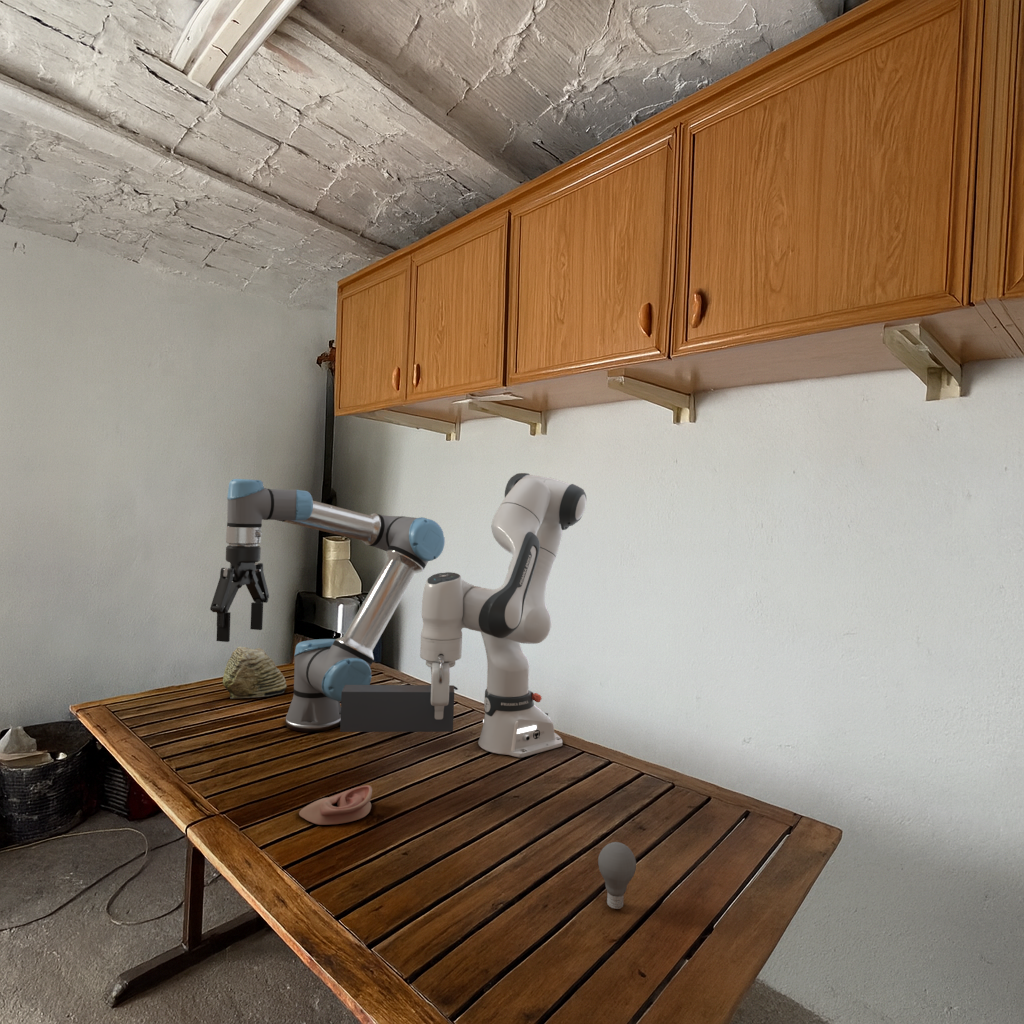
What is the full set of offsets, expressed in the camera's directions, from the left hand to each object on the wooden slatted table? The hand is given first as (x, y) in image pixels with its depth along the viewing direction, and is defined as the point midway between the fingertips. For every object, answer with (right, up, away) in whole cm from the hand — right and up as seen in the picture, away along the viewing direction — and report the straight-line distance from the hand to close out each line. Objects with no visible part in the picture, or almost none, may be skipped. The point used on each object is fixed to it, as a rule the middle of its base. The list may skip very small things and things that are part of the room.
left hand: (240, 635), depth 149 cm
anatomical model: (+28, -32, -21) cm, 47 cm away
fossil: (-17, -28, +49) cm, 59 cm away
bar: (+39, -17, -14) cm, 45 cm away
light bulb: (+80, -34, -48) cm, 100 cm away
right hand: (+48, -14, -13) cm, 52 cm away
